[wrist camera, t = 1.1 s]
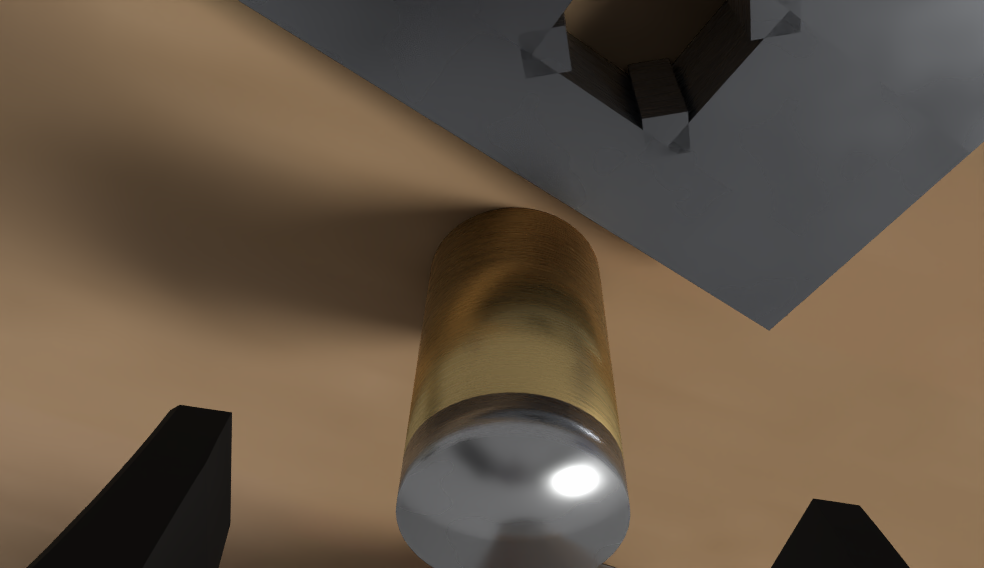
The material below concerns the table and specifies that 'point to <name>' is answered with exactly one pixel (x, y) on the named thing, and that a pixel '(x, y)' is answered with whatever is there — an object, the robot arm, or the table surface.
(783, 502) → the table surface
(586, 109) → the block
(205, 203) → the table surface
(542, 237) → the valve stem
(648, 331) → the table surface
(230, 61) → the table surface
